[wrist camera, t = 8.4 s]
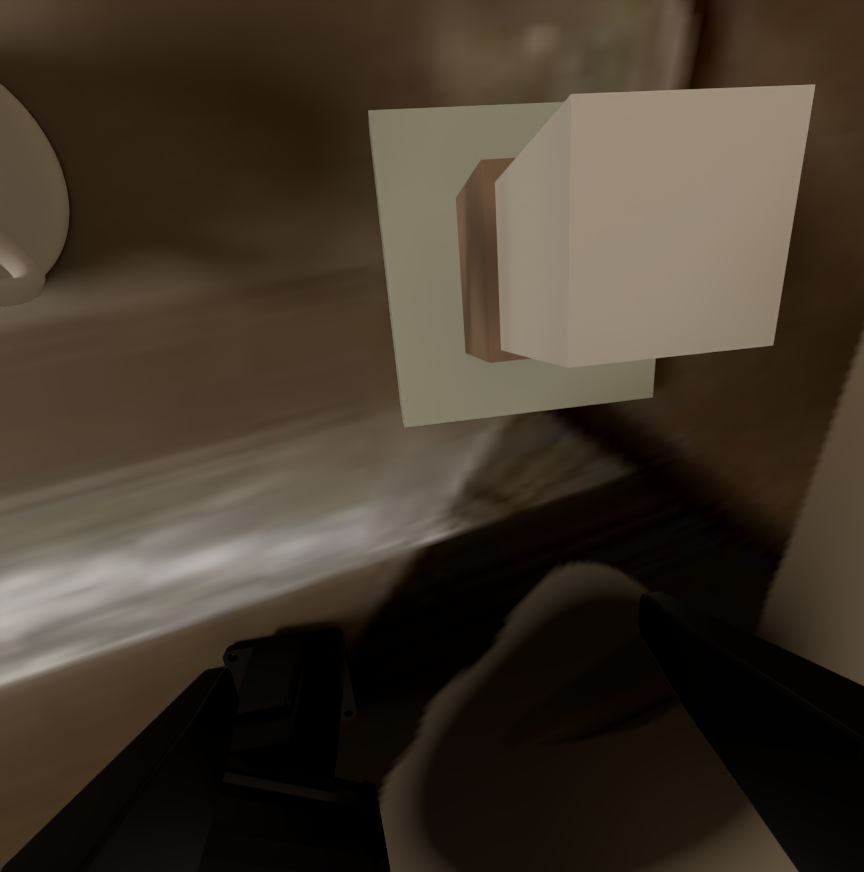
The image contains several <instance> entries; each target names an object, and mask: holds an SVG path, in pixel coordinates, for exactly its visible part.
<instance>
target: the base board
mask: <svg viewBox="0 0 864 872" xmlns="http://www.w3.org/2000/svg"><path fill="white" fill-rule="evenodd" d="M563 103H564V102H554V103H531V104H507V105H484V106H460V107H437V108H414V109H390V110H368V115H369V135H370V144H371V153H372V161H373V170H374V179H375V187H376V196H377V205H378V213H379V222H380V231H381V239H382V248H383V257H384V266H385V274H386V283H387V292H388V300H389V309H390V318H391V326H392V335H393V344H394V352H395V361H396V370H397V378H398V387H399V396H400V405H401V413H402V419H403V423H404V427H412V426H420V425H429V424H437V423H445V422H453V421H462V420H470V419H478V418H486V417H495V416H503V415H511V414H519V413H528V412H536V411H544V410H552V409H561V408H569V407H577V406H586V405H594V404H602V403H610V402H619V401H627V400H635V399H643V398H652V397H653V387H654V374H655V361H656V358H654V359H644V360H635V361H626V362H617V363H608V364H599V365H590V366H581V367H571V368H566V367H562V366H559V365H555V364H551V363H547V362H544V361H540V360H536V359H523V360H513V361H504V362H495V363H489V362H486V361H484V360H481V359H479V358H476V357H474V356H472V355H469V354H467V353H465V337H464V321H463V305H462V289H461V274H460V258H459V242H458V226H457V210H456V197H457V195H458V194H459V192H460V191H461V189H462V188H463V186H464V185H465V183H466V182H467V180H468V178H469V177H470V175H471V174H472V172H473V171H474V169H475V168H476V166H477V165H478V163H479V162H480V160H484V159H502V158H516V157H517V156H518V155H519V154H520V153H521V152H522V150H523V149H524V148H525V147H526V146H527V145H528V143H529V142H530V141H531V140H532V139H533V138H534V137H535V135H536V134H537V133H538V132H539V131H540V130H541V128H542V127H543V126H544V125H545V124H546V123H547V122H548V120H549V119H550V118H551V117H552V116H553V115H554V113H555V112H556V111H557V110H558V109H559V108H560V107H561V105H562V104H563Z"/></svg>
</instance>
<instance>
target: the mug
mask: <svg viewBox="0 0 864 872" xmlns="http://www.w3.org/2000/svg"><path fill="white" fill-rule="evenodd" d="M68 227H69V198H68V192H67V187H66V182H65V179H64V175H63V172H62V169H61V166H60V164H59V161H58V159H57V157H56V154H55V152H54V150H53V148H52V146H51V144H50V143H49V141H48V139H47V137H46V136H45V134H44V133H43V131H42V129H41V128H40V126H39V125H38V124H37V122H36V121H35V120H34V118H33V117H32V116H31V114H30V113H29V112H28V111H27V110H26V108H25V107H24V106H23V105H22V104H21V103H20V102H19V101H18V100H17V99H16V98H15V97H14V96H13V95H12V94H11V93H10V92H9V91H8V90H7V89H6V88H5V87H4V86H3V85H1V84H0V306H11V305H18V304H23V303H26V302H29V301H31V300H33V299H34V298H36V297H37V296H38V295H39V294H40V292H41V291H42V289H43V287H44V284H45V275H46V274H47V272H48V271H49V270H50V269H51V268H52V267H53V265H54V264H55V262H56V261H57V259H58V257H59V256H60V254H61V251H62V249H63V247H64V244H65V241H66V237H67V233H68Z"/></svg>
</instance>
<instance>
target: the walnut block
mask: <svg viewBox="0 0 864 872" xmlns="http://www.w3.org/2000/svg"><path fill="white" fill-rule="evenodd" d="M514 160H515V158H502V159H484V160H480V162H479V163H478V165H477V166H476V168H475V169H474V171H473V172H472V174H471V175H470V177H469V178H468V180H467V182H466V183H465V185H464V186H463V188H462V189H461V191H460V192H459V194H458V195H457V197H456V210H457V226H458V242H459V258H460V274H461V289H462V305H463V321H464V337H465V353H467V354H469V355H472V356H474V357H476V358H479V359H481V360H484V361H486V362H489V363H495V362H504V361H513V360H523V359H532V358H529V357H525V356H521V355H517V354H514V353H510V352H506V351H502V350H501V336H500V309H499V281H498V253H497V225H496V197H495V182H496V180H497V179H498V178H499V177H500V176H501V175H502V173H503V172H504V171H505V170H506V169H507V168H508V167H509V165H510V164H511V163H512V162H513V161H514Z"/></svg>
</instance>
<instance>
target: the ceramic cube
mask: <svg viewBox="0 0 864 872" xmlns="http://www.w3.org/2000/svg"><path fill="white" fill-rule="evenodd" d="M814 90H815V85H793V86H767V87H742V88H716V89H691V90H665V91H639V92H614V93H588V94H571V95H570V96H569V97H568V98H567V100H566V101H565V102H564V103H563V104H562V105H561V107H560V108H559V109H558V110H557V111H556V112H555V113H554V115H553V116H552V117H551V118H550V119H549V120H548V122H547V123H546V124H545V125H544V126H543V127H542V128H541V130H540V131H539V132H538V133H537V134H536V135H535V137H534V138H533V139H532V140H531V141H530V142H529V143H528V145H527V146H526V147H525V148H524V149H523V150H522V152H521V153H520V154H519V155H518V156H517V157H516V158H515V160H514V161H513V162H512V163H511V164H510V165H509V167H508V168H507V169H506V170H505V171H504V172H503V173H502V175H501V176H500V177H499V178H498V179H497V180H496V182H495V197H496V225H497V253H498V281H499V309H500V336H501V350H502V351H506V352H510V353H514V354H517V355H521V356H525V357H529V358H532V359H536V360H540V361H544V362H547V363H551V364H555V365H559V366H562V367H566V368H571V367H581V366H590V365H599V364H608V363H617V362H626V361H635V360H644V359H654V358H663V357H672V356H681V355H690V354H699V353H708V352H718V351H727V350H736V349H745V348H754V347H763V346H772V345H773V343H774V337H775V331H776V325H777V319H778V312H779V306H780V300H781V294H782V288H783V281H784V275H785V269H786V263H787V257H788V251H789V244H790V238H791V232H792V226H793V220H794V213H795V207H796V201H797V195H798V189H799V183H800V176H801V170H802V164H803V158H804V152H805V146H806V139H807V133H808V127H809V121H810V115H811V108H812V102H813V96H814Z"/></svg>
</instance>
